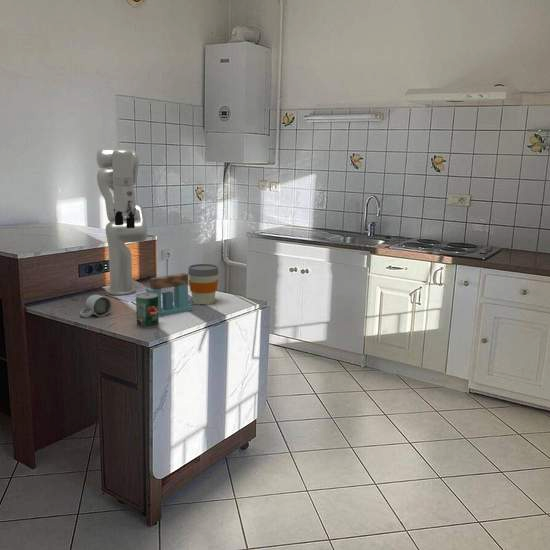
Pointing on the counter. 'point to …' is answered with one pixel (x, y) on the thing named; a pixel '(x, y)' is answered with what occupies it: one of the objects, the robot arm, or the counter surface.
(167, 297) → the display stand
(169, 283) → the walnut bar
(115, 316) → the counter surface
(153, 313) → the canned tomato
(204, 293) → the reusable coffee cup
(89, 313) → the ceramic mug
